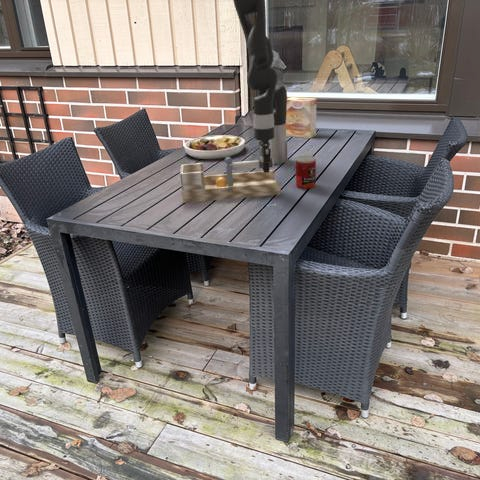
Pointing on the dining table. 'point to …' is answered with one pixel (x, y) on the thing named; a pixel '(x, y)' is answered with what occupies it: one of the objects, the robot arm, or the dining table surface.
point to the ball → (221, 182)
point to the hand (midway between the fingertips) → (265, 170)
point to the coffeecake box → (301, 117)
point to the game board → (243, 186)
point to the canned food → (305, 172)
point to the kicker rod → (242, 167)
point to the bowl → (214, 146)
